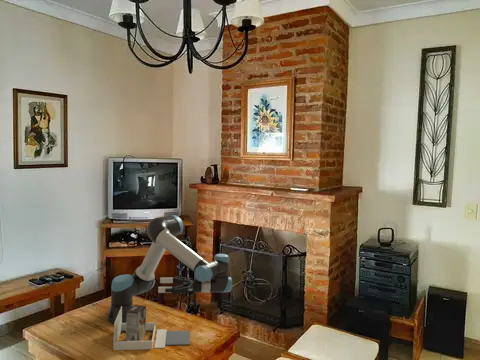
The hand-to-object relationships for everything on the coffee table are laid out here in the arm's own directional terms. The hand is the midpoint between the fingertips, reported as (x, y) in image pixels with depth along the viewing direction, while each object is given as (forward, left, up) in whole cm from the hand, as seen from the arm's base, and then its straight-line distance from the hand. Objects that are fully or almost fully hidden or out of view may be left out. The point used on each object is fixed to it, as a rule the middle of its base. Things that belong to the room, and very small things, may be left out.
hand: (159, 284), depth 188 cm
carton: (0, -8, -28) cm, 29 cm away
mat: (0, +10, -28) cm, 30 cm away
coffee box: (0, -11, -28) cm, 30 cm away
